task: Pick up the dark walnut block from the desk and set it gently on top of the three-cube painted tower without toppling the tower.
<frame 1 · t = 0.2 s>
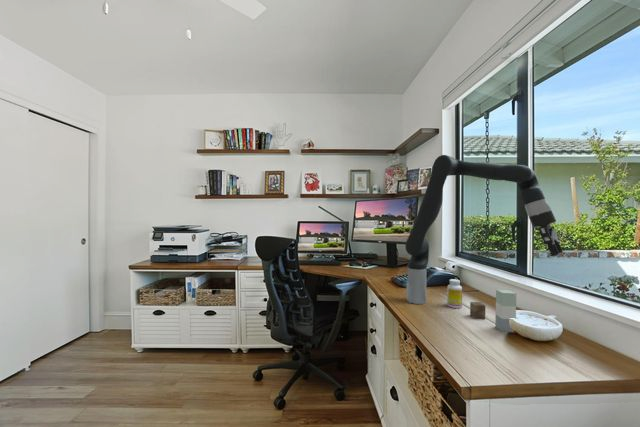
hand: (557, 253, 109), 31 cm above the table, tool tilted 20°, fingers open, 8 cm apart
tower top: (505, 304, 115), point 10 cm above the table, touching tower mid
tower base: (505, 329, 115), on the table, touching tower mid
supplement bottle: (454, 306, 142), on the table
walnut block: (477, 317, 128), on the table
tower mid: (505, 316, 115), point 5 cm above the table, touching tower base, tower top
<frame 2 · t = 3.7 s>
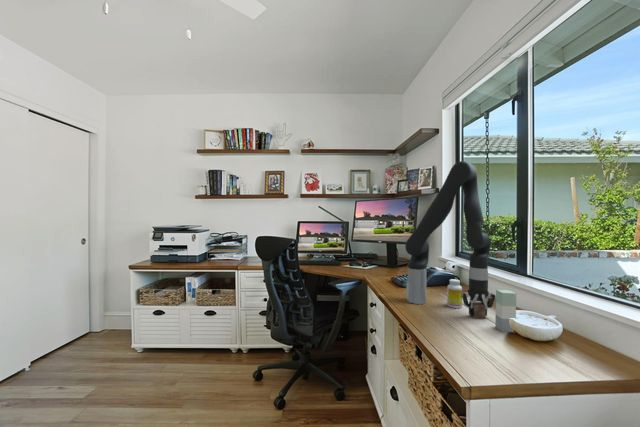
hand: (477, 316, 128), 0 cm above the table, tool pointing down, fingers closed on walnut block, 4 cm apart
walnut block: (477, 317, 128), on the table, touching gripper
everything else where it was.
when the fingers open (17 cm above the table, at t = 8.7 s): walnut block drops 1 cm, resting on tower top.
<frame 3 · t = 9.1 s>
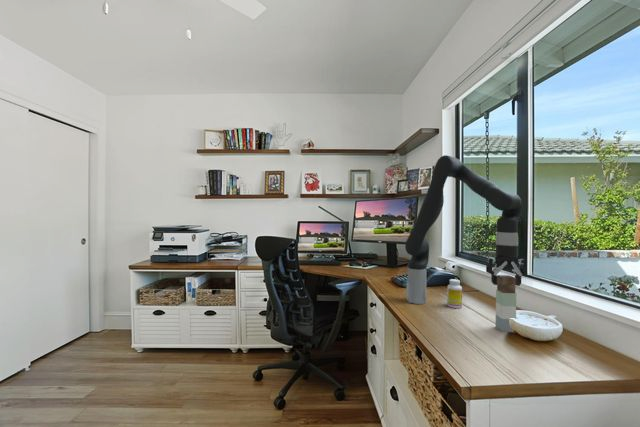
hand: (506, 284, 115), 18 cm above the table, tool pointing down, fingers open, 8 cm apart
tower top: (505, 304, 115), point 10 cm above the table, touching tower mid, walnut block
walnut block: (506, 291, 115), point 15 cm above the table, touching tower top
everything else where it was.
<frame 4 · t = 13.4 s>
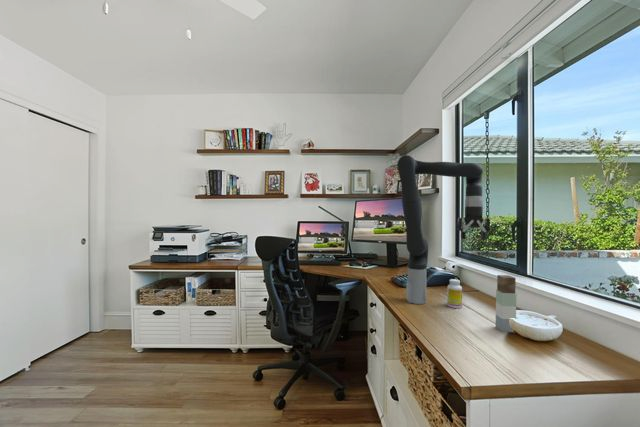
hand: (473, 239, 139), 33 cm above the table, tool pointing down, fingers open, 8 cm apart
nothing on the table moved.
at the end: walnut block 0.0 cm off-centre on the tower top, point 5.0 cm above the tower top's base; tower top tilted 0°; tower base moved 0.1 cm from its start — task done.
